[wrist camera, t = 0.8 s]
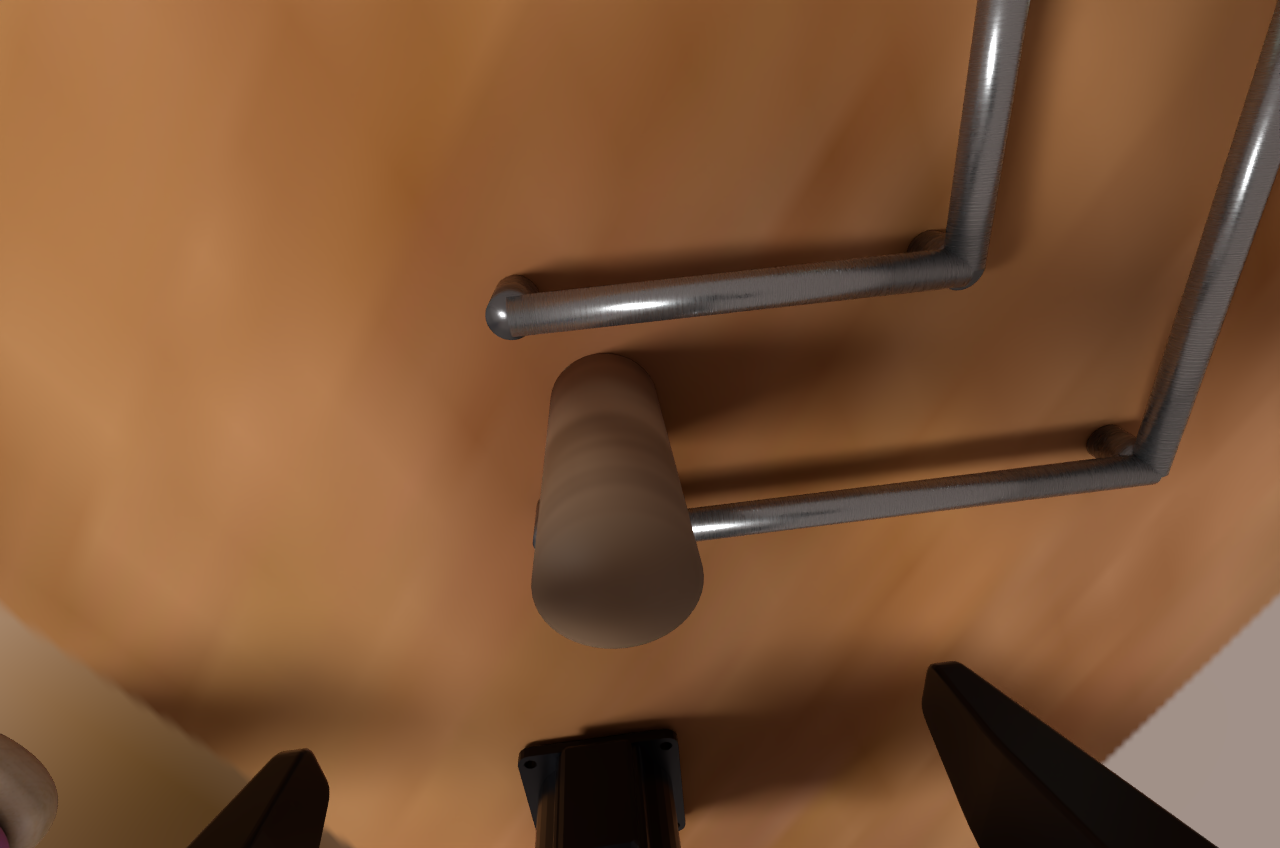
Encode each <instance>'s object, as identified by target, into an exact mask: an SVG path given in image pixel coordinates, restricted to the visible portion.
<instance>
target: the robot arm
mask: <svg viewBox="0 0 1280 848" xmlns="http://www.w3.org/2000/svg"><path fill="white" fill-rule="evenodd" d="M922 710H923V714H924V718H925V720H926V723H927V725H928V728H929V730H930V733H931V735H932V737H933V740H934V742H935V745H936V747H937V750H938V752H939V755H940V757H941V760H942V762H943V765H944V767H945V769H946V772H947V774H948V777H949V779H950V782H951V784H952V787H953V789H954V792H955V794H956V797H957V799H958V801H959V804H960V806H961V809H962V811H963V813H964V816H965V818H966V820H967V823H968V825H969V827H970V829H971V831H972V833H973V835H974V837H975V839H976V841H977V843H978V845H979V847H980V848H1218V847H1217V846H1215V845H1214V844H1213V843H1211V842H1210V841H1208V840H1207V839H1206V838H1204V837H1203V836H1201V835H1200V834H1199V833H1197V832H1196V831H1194V830H1193V829H1191V828H1190V827H1189V826H1187V825H1186V824H1185V823H1183V822H1182V821H1181V820H1179V819H1178V818H1176V817H1175V816H1174V815H1172V814H1171V813H1169V812H1168V811H1167V810H1165V809H1164V808H1162V807H1161V806H1160V805H1158V804H1157V803H1155V802H1154V801H1153V800H1151V799H1150V798H1148V797H1147V796H1146V795H1144V794H1143V793H1141V792H1140V791H1139V790H1137V789H1136V788H1135V787H1133V786H1132V785H1130V784H1129V783H1128V782H1126V781H1125V780H1123V779H1122V778H1121V777H1119V776H1118V775H1116V774H1115V773H1114V772H1112V771H1111V770H1109V769H1108V768H1107V767H1105V766H1104V765H1103V764H1101V763H1100V762H1098V761H1097V760H1096V759H1094V758H1093V757H1091V756H1090V755H1089V754H1087V753H1086V752H1084V751H1083V750H1082V749H1080V748H1079V747H1077V746H1076V745H1075V744H1073V743H1072V742H1070V741H1069V740H1068V739H1066V738H1065V737H1064V736H1062V735H1061V734H1059V733H1058V732H1057V731H1055V730H1054V729H1052V728H1051V727H1050V726H1048V725H1047V724H1045V723H1044V722H1043V721H1041V720H1040V719H1038V718H1037V717H1036V716H1034V715H1033V714H1031V713H1030V712H1029V711H1027V710H1026V709H1025V708H1023V707H1022V706H1020V705H1019V704H1018V703H1016V702H1015V701H1013V700H1012V699H1011V698H1009V697H1008V696H1006V695H1005V694H1004V693H1002V692H1001V691H999V690H998V689H997V688H995V687H994V686H992V685H991V684H990V683H988V682H987V681H985V680H984V679H983V678H981V677H980V676H979V675H977V674H976V673H974V672H973V671H972V670H970V669H969V668H967V667H966V666H965V665H963V664H961V663H959V662H956V661H949V662H941V663H934V664H931V665H930V666H929V667H928V669H927V673H926V679H925V685H924V690H923V696H922ZM518 768H519V772H520V775H521V779H522V782H523V786H524V789H525V793H526V796H527V800H528V803H529V807H530V810H531V814H532V818H533V821H534V825H535V828H536V842H535V848H681V845H680V838H679V831H680V830H682V829H683V828H684V827H685V814H684V803H683V792H682V781H681V770H680V759H679V748H678V740H677V735H676V733H675V732H674V731H673V730H670V729H662V730H654V731H647V732H640V733H632V734H625V735H617V736H610V737H603V738H595V739H588V740H581V741H573V742H566V743H558V744H551V745H544V746H536V747H529V748H525V749H523V750H522V751H521V752H520V753H519V759H518ZM328 802H329V785H328V782H327V779H326V777H325V775H324V773H323V771H322V769H321V767H320V766H319V764H318V762H317V760H316V758H315V756H314V754H313V752H312V751H311V750H309V749H306V748H303V749H296V750H289V751H283V752H280V753H278V754H277V755H275V756H274V757H273V758H272V759H271V760H270V761H269V762H268V763H267V764H266V765H265V766H264V767H263V768H262V769H261V770H260V771H259V772H258V773H257V774H256V775H255V776H254V778H253V779H252V780H251V781H250V782H249V783H248V784H247V785H246V786H245V787H244V788H243V789H242V790H241V791H240V792H239V793H238V794H237V795H236V796H235V797H234V798H233V799H232V801H231V802H230V803H229V804H228V805H227V806H226V807H225V808H224V809H223V810H222V811H221V812H220V813H219V814H218V815H217V816H216V817H215V818H214V819H213V821H211V823H210V824H209V825H208V826H207V827H206V828H205V829H204V830H203V831H202V832H201V833H200V834H199V835H198V836H197V837H196V838H195V839H194V840H193V841H192V842H191V844H190V845H189V846H188V847H187V848H319V846H320V841H321V836H322V832H323V827H324V822H325V817H326V812H327V807H328Z"/></svg>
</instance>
